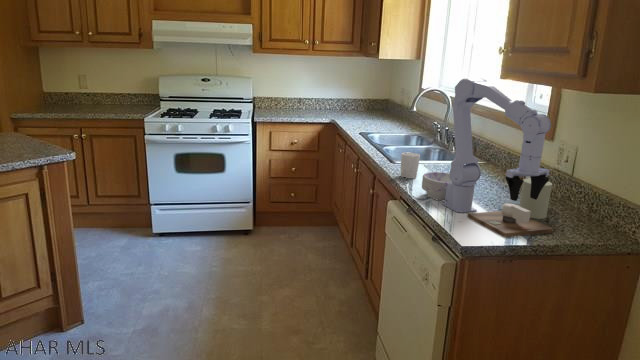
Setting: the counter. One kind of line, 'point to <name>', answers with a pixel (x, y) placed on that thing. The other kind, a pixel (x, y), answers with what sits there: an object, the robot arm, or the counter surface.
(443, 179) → the paper bowls
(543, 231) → the post board
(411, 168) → the white cup
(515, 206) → the white block
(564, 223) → the counter surface
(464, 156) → the robot arm
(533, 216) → the can
